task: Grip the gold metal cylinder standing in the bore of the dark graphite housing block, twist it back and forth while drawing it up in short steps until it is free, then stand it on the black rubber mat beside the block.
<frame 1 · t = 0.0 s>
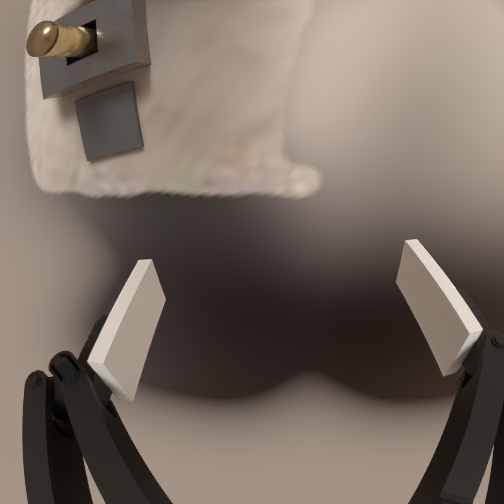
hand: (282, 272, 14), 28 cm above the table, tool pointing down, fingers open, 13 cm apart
housing: (98, 45, 28), on the table
gold metal cylinder: (72, 41, 22), in the housing
mat: (108, 122, 35), on the table
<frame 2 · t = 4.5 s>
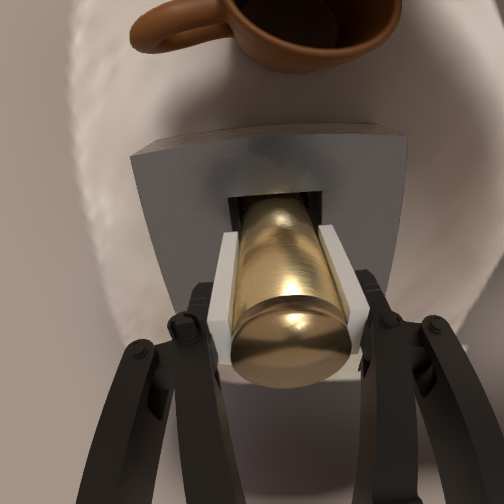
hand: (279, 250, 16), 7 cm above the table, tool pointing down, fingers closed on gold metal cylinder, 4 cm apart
housing: (273, 203, 21), on the table
gold metal cylinder: (279, 253, 16), in the housing, touching gripper
mug: (257, 32, 15), on the table
when the fingers open (9 cm above the table, at t = 11.8 s): gold metal cylinder drops 2 cm, resting on mat.
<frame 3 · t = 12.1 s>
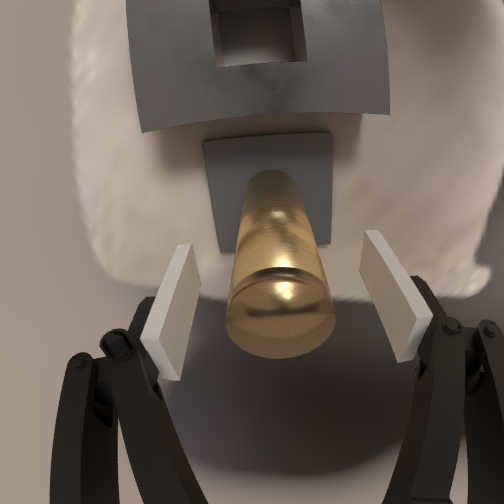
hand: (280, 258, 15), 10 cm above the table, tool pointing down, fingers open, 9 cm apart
housing: (257, 38, 17), on the table
gold metal cylinder: (275, 238, 17), on the mat, point 8 cm above the table
mat: (271, 192, 24), on the table
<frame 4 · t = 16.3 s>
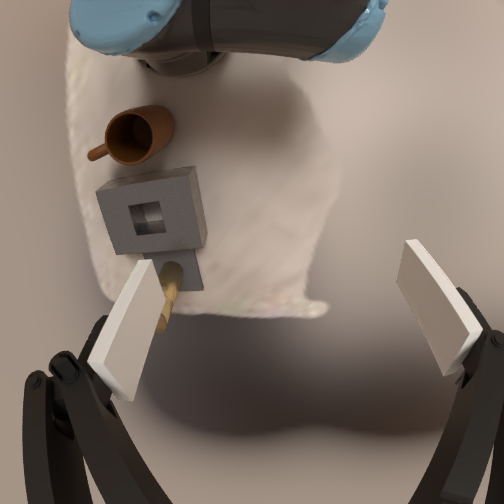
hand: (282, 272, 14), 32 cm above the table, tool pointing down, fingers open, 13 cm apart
housing: (156, 206, 46), on the table
gold metal cylinder: (163, 294, 47), on the mat, point 8 cm above the table
mug: (141, 132, 40), on the table
mat: (173, 268, 53), on the table
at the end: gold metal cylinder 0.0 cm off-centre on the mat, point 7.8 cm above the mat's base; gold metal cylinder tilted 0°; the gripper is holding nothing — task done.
